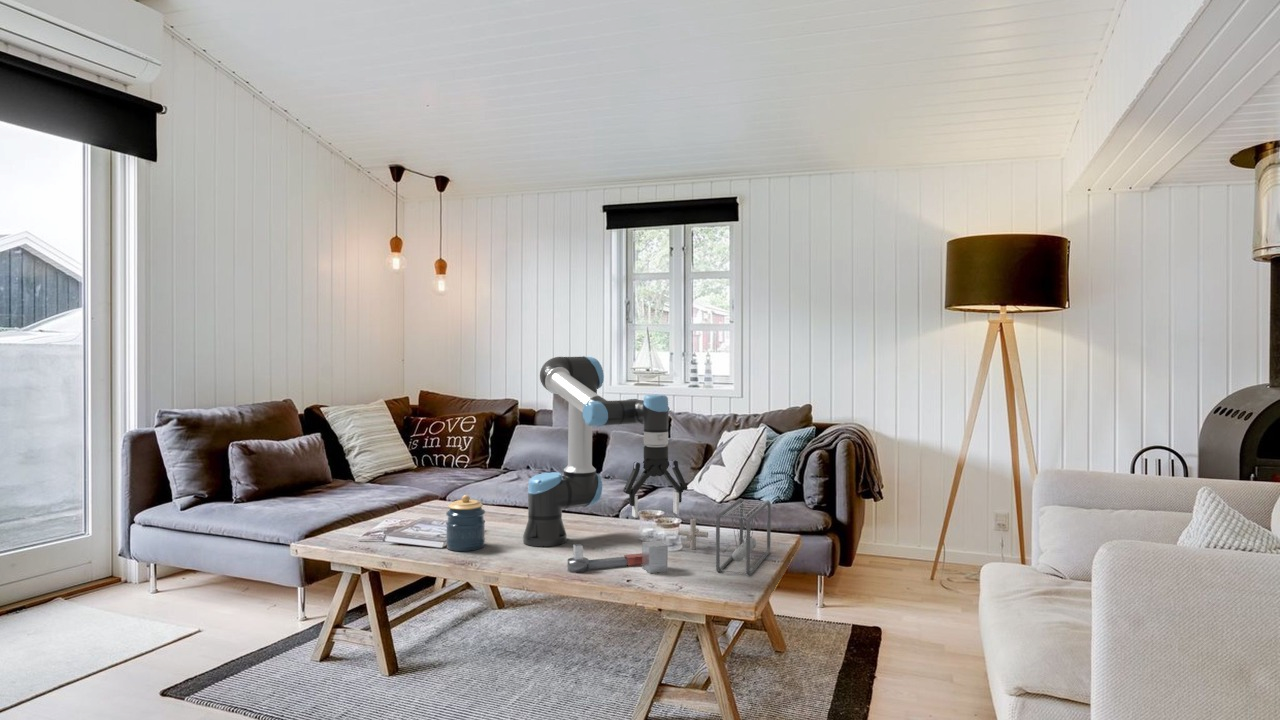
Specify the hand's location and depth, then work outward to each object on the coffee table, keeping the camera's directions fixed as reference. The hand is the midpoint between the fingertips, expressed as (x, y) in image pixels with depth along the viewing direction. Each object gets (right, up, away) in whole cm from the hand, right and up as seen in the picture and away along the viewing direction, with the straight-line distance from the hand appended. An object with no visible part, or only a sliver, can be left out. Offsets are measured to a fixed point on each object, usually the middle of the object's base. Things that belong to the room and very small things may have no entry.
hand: (655, 514), depth 224 cm
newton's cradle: (+28, -17, +9) cm, 34 cm away
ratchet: (-14, -17, +3) cm, 22 cm away
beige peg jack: (+13, -17, +24) cm, 32 cm away
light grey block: (0, -17, 0) cm, 17 cm away
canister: (-64, -16, +25) cm, 71 cm away
